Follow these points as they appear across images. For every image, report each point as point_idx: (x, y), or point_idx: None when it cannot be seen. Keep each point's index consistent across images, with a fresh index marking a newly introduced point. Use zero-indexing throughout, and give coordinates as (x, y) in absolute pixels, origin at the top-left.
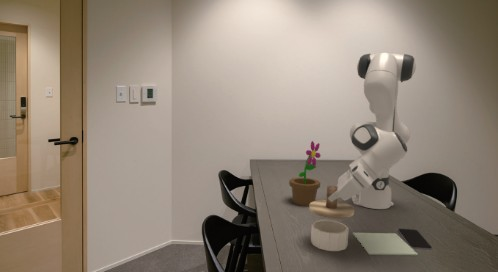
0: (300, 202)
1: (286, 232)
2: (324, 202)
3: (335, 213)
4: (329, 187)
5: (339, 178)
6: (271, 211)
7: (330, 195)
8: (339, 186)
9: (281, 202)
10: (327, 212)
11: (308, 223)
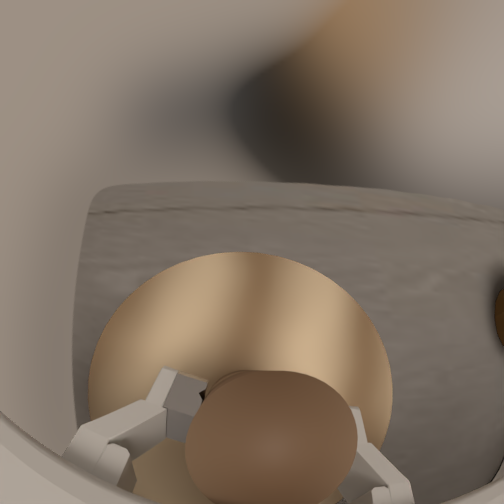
0: (501, 306)
1: (307, 247)
2: (342, 371)
3: (108, 395)
4: (236, 399)
5: (497, 502)
6: (440, 223)
7: (181, 394)
8: (4, 469)
9: (493, 258)
10: (122, 347)
11: (395, 331)
